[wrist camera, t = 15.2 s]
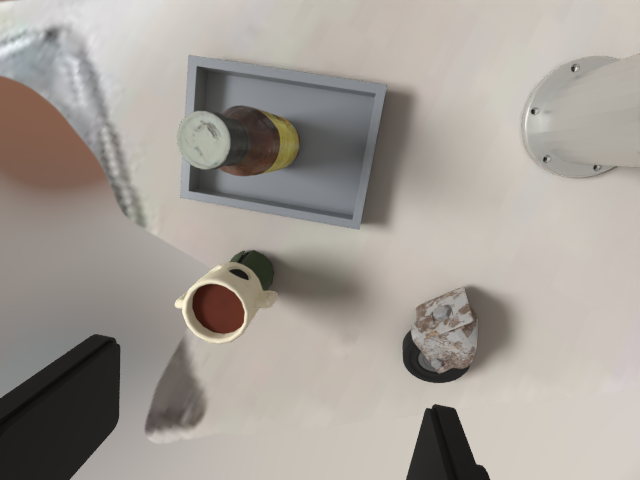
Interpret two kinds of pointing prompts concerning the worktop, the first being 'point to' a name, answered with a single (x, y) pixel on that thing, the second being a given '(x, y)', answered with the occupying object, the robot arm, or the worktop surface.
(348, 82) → the tray
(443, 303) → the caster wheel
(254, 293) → the character mug
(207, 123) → the sauce bottle
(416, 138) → the worktop surface
